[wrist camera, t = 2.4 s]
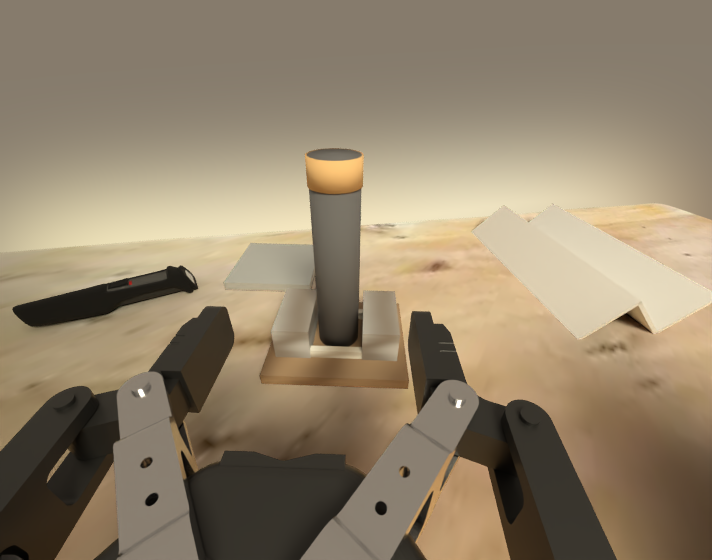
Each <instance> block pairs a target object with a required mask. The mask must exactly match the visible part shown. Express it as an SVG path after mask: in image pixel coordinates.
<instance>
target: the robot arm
mask: <svg viewBox="0 0 712 560" xmlns="http://www.w3.org/2000/svg"><path fill="white" fill-rule="evenodd" d="M233 343H234V332H233V329H232V325H231V321H230V318H229V314H228V311H227V309H226V307H216V306H207V307H205V308H204V309H203V311H202V312H201V314H200V315H199V316H198V318H192V319H191V320H190V321H188V322H187V323H186V324H184V325H183V326H182V327H181V328H180V330H179V331H178V332H177V334H176V337H174V338H173V339H172V340H171V342H170V344H169V345H168V346H167V347H166V349H165V350H164V351H163V353H162V354H161V355H160V357H159V358H158V359H157V361H156V362H155V363H154V365H153V366H152V367H151V369H150V370H149V371H148V372H144V373H141V374H138V375H136V376H134V377H132V378H130V379H129V380H127V381H126V382H125V383H124V384H123V385H122V386H121V387H120V389H119V390H115V391H110V392H106V393H101V394H97V395H94V394H93V393H92V391H91V390H90V389H89V388H88V387H85V386H77V387H72V388H69V389H66V390H64V391H62V392H60V393H58V394H56V395H55V396H53V397H52V398H50V399H49V400H48V401H47V402H46V403H45V404H44V405H43V406H42V407H41V408H40V409H39V410H38V411H37V412H36V414H35V415H34V416H33V417H32V418H31V419H30V420H29V421H28V422H27V423H26V424H25V425H24V427H23V428H22V429H21V430H20V431H19V432H18V433H17V434H16V435H15V436H14V437H13V438H12V440H11V441H10V442H9V443H8V444H7V445H6V446H5V447H4V448H3V449H2V450H1V451H0V560H54V559H55V558H56V556H57V554H58V553H59V551H60V549H61V548H62V546H63V544H64V543H65V541H66V539H67V538H68V536H69V535H70V533H71V531H72V530H73V528H74V526H75V525H76V523H77V521H78V520H79V518H80V516H81V515H82V513H83V511H84V510H85V508H86V506H87V505H88V503H89V501H90V500H91V498H92V496H93V495H94V493H95V491H96V490H97V488H98V486H99V485H100V483H101V481H102V480H103V478H104V477H105V475H106V473H107V472H108V470H109V468H110V467H111V465H112V463H113V462H114V470H115V486H116V503H117V520H118V536H119V538H118V539H117V540H116V541H114V542H113V543H112V544H111V545H110V546H109V547H108V548H106V549H105V550H104V551H103V552H102V553H101V554H100V555H98V556H97V557H96V558H95V559H94V560H427V559H426V558H425V556H424V555H423V553H422V552H421V550H420V549H419V547H418V546H417V544H416V543H417V541H418V539H419V537H420V535H421V533H422V532H423V530H424V528H425V526H426V524H427V522H428V520H429V518H430V516H431V514H432V512H433V509H434V507H435V505H436V502H437V500H438V498H439V496H440V494H441V492H442V490H443V488H444V486H445V484H446V483H447V481H448V479H449V477H450V475H451V473H452V471H453V469H454V467H455V465H456V464H457V462H458V460H459V458H460V457H463V458H465V459H468V460H471V461H474V462H476V463H479V464H482V465H484V466H487V467H488V471H489V475H490V479H491V483H492V487H493V491H494V495H495V499H496V503H497V507H498V511H499V515H500V519H501V523H502V527H503V531H504V535H505V539H506V543H507V547H508V551H509V555H510V559H511V560H617V559H616V557H615V554H614V552H613V550H612V548H611V546H610V544H609V542H608V539H607V537H606V535H605V533H604V531H603V529H602V527H601V525H600V522H599V520H598V518H597V516H596V514H595V512H594V510H593V507H592V505H591V503H590V501H589V499H588V497H587V495H586V492H585V490H584V488H583V486H582V484H581V482H580V480H579V478H578V475H577V473H576V471H575V469H574V467H573V465H572V463H571V460H570V458H569V456H568V454H567V452H566V450H565V448H564V446H563V443H562V441H561V439H560V437H559V435H558V433H557V431H556V428H555V426H554V424H553V422H552V420H551V418H550V417H549V415H548V414H547V413H546V412H545V411H544V410H543V409H542V408H541V407H539V406H538V405H536V404H534V403H532V402H529V401H526V400H514V401H511V402H510V403H508V405H507V406H503V405H500V404H496V403H493V402H490V401H487V400H485V399H483V398H481V397H479V396H478V395H477V394H476V392H475V391H474V390H473V389H472V388H471V387H470V386H469V385H467V382H466V380H465V377H464V373H463V370H462V367H461V364H460V361H459V358H458V355H457V352H456V349H455V346H454V344H453V339H452V336H451V333H450V332H449V331H448V329H447V328H446V327H445V326H444V325H443V324H433V320H432V316H431V313H430V312H423V311H412V314H411V322H410V330H409V338H408V351H409V358H410V365H411V372H412V379H413V385H414V392H415V399H416V406H417V412H418V415H417V417H416V418H415V419H414V421H413V422H412V423H411V424H408V423H407V424H405V425H404V426H403V427H402V428H401V430H400V431H399V432H398V434H397V435H396V437H395V438H394V439H393V441H392V442H391V443H390V445H389V446H388V447H387V449H386V450H385V452H384V453H383V454H382V456H381V457H380V458H379V460H378V461H377V462H376V464H375V465H374V467H373V468H372V469H371V471H370V472H369V473H368V475H366V474H364V473H363V472H361V471H360V470H358V469H356V468H354V467H352V466H349V465H347V464H346V455H336V454H313V455H308V456H304V457H300V458H295V459H291V460H286V461H281V460H278V459H275V458H272V457H269V456H266V455H263V454H260V453H257V452H248V451H225V452H224V454H223V457H222V459H221V461H219V462H216V463H213V464H210V465H208V466H206V467H204V468H202V469H200V470H199V469H198V466H197V463H196V460H195V457H194V453H193V449H192V446H191V442H190V438H189V435H188V431H187V427H186V424H185V421H184V418H185V416H186V414H187V413H188V412H191V413H199V412H200V410H201V408H202V406H203V404H204V402H205V400H206V399H207V397H208V395H209V393H210V391H211V389H212V387H213V385H214V383H215V381H216V379H217V377H218V375H219V373H220V371H221V369H222V367H223V365H224V363H225V361H226V359H227V357H228V355H229V353H230V351H231V349H232V347H233ZM67 448H68V450H69V451H70V453H69V454H68V455H67V457H66V458H65V459H64V461H63V462H62V464H61V465H60V466H59V468H58V469H57V470H56V472H55V473H54V474H53V476H52V477H51V478H50V480H49V481H48V483H47V478H48V475H49V473H50V471H51V470H52V468H53V467H54V466H55V464H56V463H57V462H58V460H59V459H60V458H61V456H62V455H63V454H64V452H65V451H66V450H67Z"/></svg>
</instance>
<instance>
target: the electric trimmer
mask: <svg viewBox="0 0 712 560" xmlns="http://www.w3.org/2000/svg"><path fill="white" fill-rule="evenodd" d="M193 289H198V286H197V283H196V280H195V277H194V276H193V275H192V273H191V272H190V271H188V270H187V269H186V268H185V267H183V266H181V265H180V266H179V267H178V268H177V267H172V266H168V267H167V269H165V270H161V271H157V272H153V273H149V274H145V275H141V276H136V277H132V278H125V279H123V280H119V281H116V282H112V283H108V284H101V285H97V286H93V287H90V288H86V289H82V290H78V291H74V292H70V293H66V294H62V295H58V296H54V297H50V298H46V299H42V300H38V301H34V302H30V303H26V304H22V305H18V306H15V307H13V309H12V310H13V312H14V314H15V315H16V316H17V317H18V318H20V319H21V320H22V321H23V322H24V323H25V324H27V325H29V326H42V325H47V324H53V323H58V322H64V321H69V320H75V319H81V318H86V317H91V316H96V315H101V314H106V313H109V312H111V311H112V310H114V309H115V308H117V307H118V306H121V305H125V304H129V303H134V302H138V301H142V300H146V299H150V298H154V297H158V296H162V295H166V294H170V293H174V292H178V291H183V290H184V291H186V292H188V293H192V292H193Z"/></svg>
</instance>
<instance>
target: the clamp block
mask: <svg viewBox="0 0 712 560" xmlns="http://www.w3.org/2000/svg"><path fill="white" fill-rule="evenodd" d="M271 334H272V339H273V340H272V343H271V345H270V348H269V351H268V354H267V357H266V359H265V362H264V365H263V368H262V371H261V373H260V378H261V383H265V384H292V385H320V386H348V387H376V388H404V389H408V383H409V378H408V370H407V363H406V355H405V348H404V340H403V332H402V325H401V317H400V310H399V304H396V297H395V292H394V291H364V293H363V303H360V302H359V314H358V338H357V340H356V341H355V343H354V344H352V345H351V346H349V347H341V346H326V345H324V344H323V343H322V342H321V340H320V336H319V322H318V307H317V293H316V289H294V288H287V290H286V292H285V295H284V298H283V300H282V303H281V306H280V308H279V311H278V314H277V316H276V319H275V322H274V324H273V327H272V330H271Z"/></svg>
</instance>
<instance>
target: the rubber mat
mask: <svg viewBox="0 0 712 560" xmlns="http://www.w3.org/2000/svg"><path fill="white" fill-rule="evenodd" d="M314 276H315V265H314V251H313V245H298V244H261V243H250V245H249V246H248V248H247V249H246V251H245V252H244V253H243V255H242V256H241V258H240V259H239V261H238V262H237V264H236V265H235V267H234V268H233V269H232V271H231V272H230V274H229V275H228V277H227V278H226V280H225V281H224V286H225V290H259V291H286V290H287V288H294V289H311V287H312V283H313V279H314Z"/></svg>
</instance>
